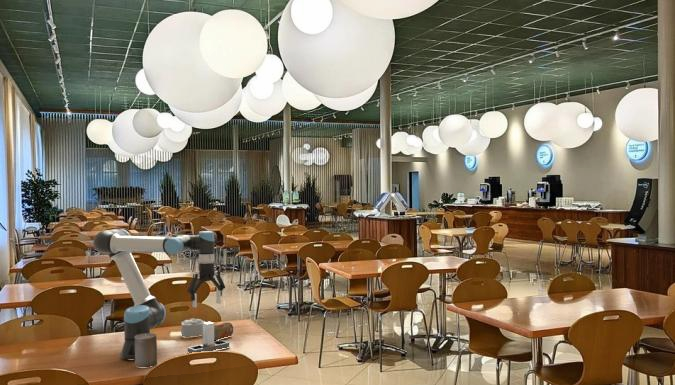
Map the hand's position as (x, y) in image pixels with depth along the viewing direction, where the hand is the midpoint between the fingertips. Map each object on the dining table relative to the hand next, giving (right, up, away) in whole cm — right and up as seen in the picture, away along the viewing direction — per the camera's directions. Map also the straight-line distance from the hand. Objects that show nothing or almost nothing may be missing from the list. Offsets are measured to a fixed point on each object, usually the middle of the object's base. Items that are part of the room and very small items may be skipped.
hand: (206, 305), depth 291 cm
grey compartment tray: (+1, -23, 0) cm, 23 cm away
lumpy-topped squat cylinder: (-14, -23, +31) cm, 41 cm away
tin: (+3, -23, +22) cm, 32 cm away
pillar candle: (-23, -23, -23) cm, 40 cm away
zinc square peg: (+1, -23, 0) cm, 23 cm away
